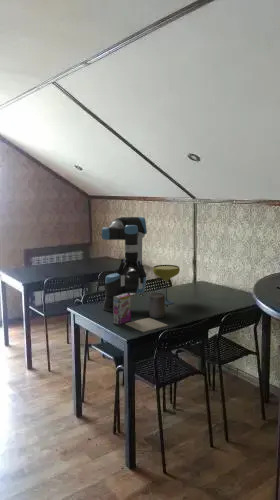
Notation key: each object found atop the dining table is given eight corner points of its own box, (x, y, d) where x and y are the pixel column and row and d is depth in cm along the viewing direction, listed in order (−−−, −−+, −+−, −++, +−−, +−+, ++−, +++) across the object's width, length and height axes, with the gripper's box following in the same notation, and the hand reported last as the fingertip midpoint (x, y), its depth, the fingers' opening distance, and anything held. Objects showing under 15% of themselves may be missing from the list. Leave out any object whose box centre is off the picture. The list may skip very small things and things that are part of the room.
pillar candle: (164, 313, 283) (163, 290, 281) (165, 318, 273) (165, 294, 271) (148, 314, 283) (148, 291, 280) (149, 318, 273) (149, 294, 271)
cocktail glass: (154, 298, 319) (154, 264, 316) (180, 299, 317) (180, 264, 313) (151, 305, 302) (151, 269, 298) (178, 306, 299) (178, 269, 295)
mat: (124, 324, 262) (124, 323, 262) (149, 318, 273) (149, 317, 273) (143, 332, 248) (143, 331, 248) (167, 326, 259) (167, 325, 259)
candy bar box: (119, 325, 260) (118, 298, 258) (113, 323, 263) (112, 296, 261) (131, 320, 269) (131, 294, 266) (125, 319, 272) (125, 293, 270)
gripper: (111, 250, 265) (111, 285, 267) (144, 254, 249) (144, 291, 252) (119, 249, 270) (119, 283, 273) (152, 252, 255) (152, 289, 258)
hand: (131, 287), depth 263 cm, fingers open, 13 cm apart
